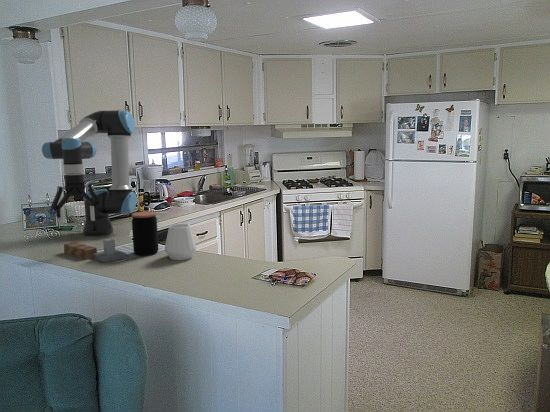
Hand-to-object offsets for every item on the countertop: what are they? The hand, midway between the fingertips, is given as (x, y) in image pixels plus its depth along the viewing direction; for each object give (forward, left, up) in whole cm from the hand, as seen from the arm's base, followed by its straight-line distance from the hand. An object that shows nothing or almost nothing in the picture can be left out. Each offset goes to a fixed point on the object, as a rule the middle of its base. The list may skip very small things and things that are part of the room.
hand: (77, 222), depth 199 cm
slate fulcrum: (-7, +14, -15) cm, 22 cm away
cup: (-29, +35, -15) cm, 48 cm away
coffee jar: (-22, +18, -15) cm, 32 cm away
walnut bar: (0, 0, -15) cm, 15 cm away
